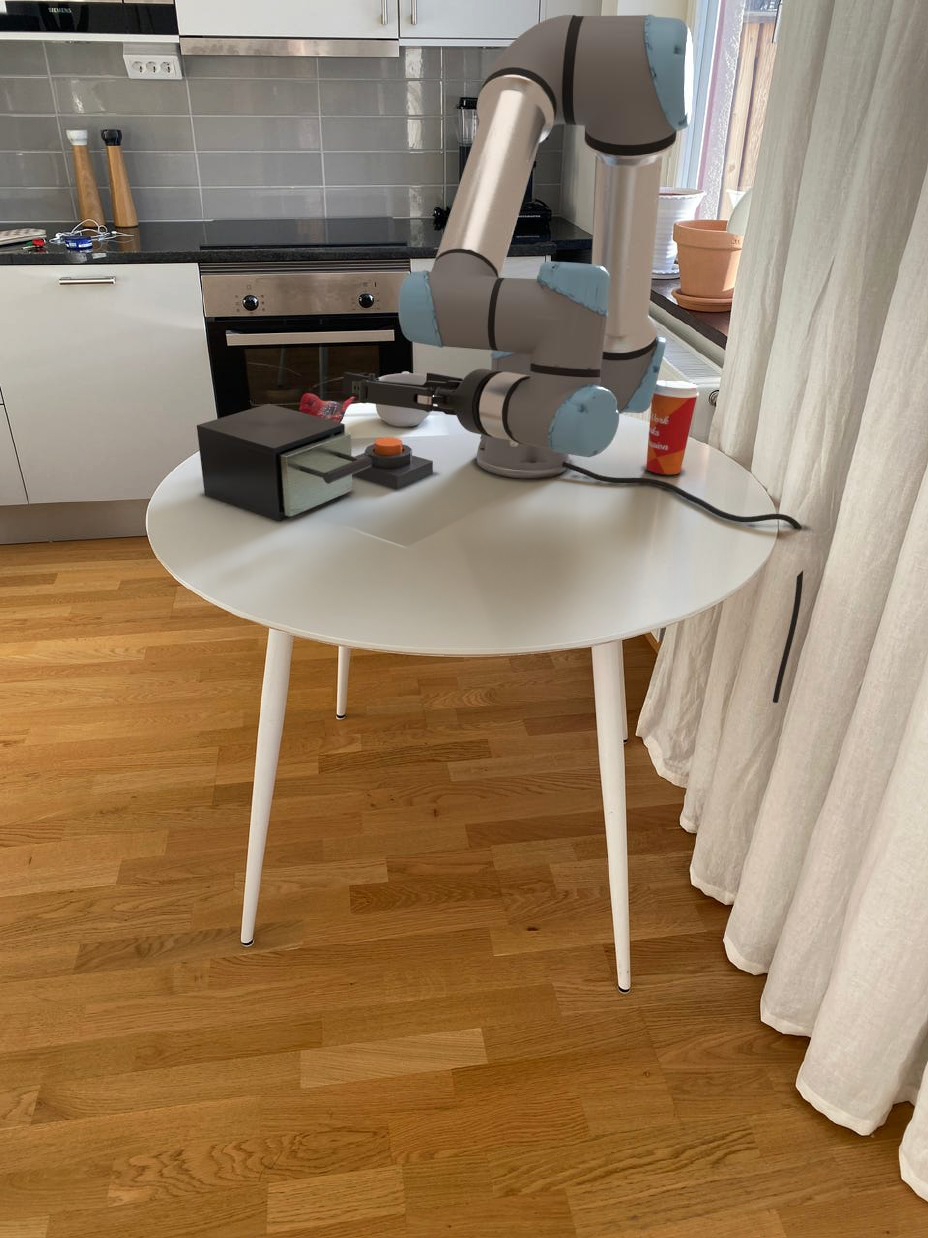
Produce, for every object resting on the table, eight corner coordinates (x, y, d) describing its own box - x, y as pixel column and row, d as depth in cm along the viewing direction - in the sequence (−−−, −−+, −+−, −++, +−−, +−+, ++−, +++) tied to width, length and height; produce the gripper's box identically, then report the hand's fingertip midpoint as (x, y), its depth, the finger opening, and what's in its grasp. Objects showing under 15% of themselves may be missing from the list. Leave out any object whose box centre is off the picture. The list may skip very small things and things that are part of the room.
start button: (408, 451, 149) (407, 441, 148) (390, 458, 146) (390, 448, 145) (386, 445, 151) (386, 435, 150) (368, 452, 148) (368, 442, 147)
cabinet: (347, 492, 143) (344, 423, 138) (279, 521, 133) (273, 448, 127) (273, 469, 151) (268, 403, 145) (204, 495, 140) (196, 424, 135)
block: (432, 473, 151) (433, 449, 149) (397, 489, 144) (397, 464, 142) (380, 458, 156) (380, 435, 154) (344, 473, 150) (343, 449, 148)
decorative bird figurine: (295, 454, 157) (291, 395, 152) (351, 426, 171) (349, 371, 166) (309, 457, 156) (306, 398, 151) (365, 428, 170) (363, 373, 165)
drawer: (383, 500, 138) (382, 441, 134) (321, 527, 129) (318, 466, 124) (283, 468, 148) (279, 413, 144) (220, 492, 139) (213, 434, 135)
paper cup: (634, 462, 158) (646, 378, 152) (678, 463, 159) (692, 380, 153) (647, 475, 151) (659, 388, 145) (693, 477, 152) (707, 389, 146)
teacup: (424, 433, 169) (424, 389, 165) (366, 428, 170) (365, 384, 167) (441, 411, 181) (442, 370, 177) (387, 406, 182) (386, 365, 179)
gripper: (413, 442, 101) (306, 414, 116) (568, 433, 118) (457, 409, 132) (417, 371, 99) (307, 351, 114) (575, 371, 115) (461, 355, 130)
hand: (388, 383), depth 123 cm, fingers open, 13 cm apart
